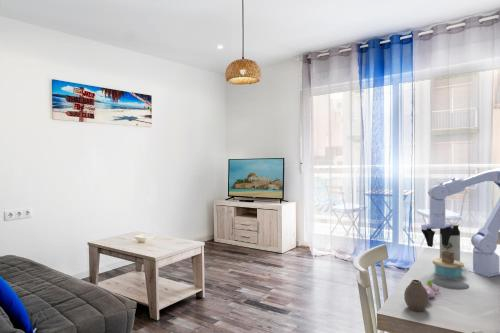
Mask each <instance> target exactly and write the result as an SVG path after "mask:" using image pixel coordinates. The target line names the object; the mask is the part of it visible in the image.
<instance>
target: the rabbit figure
mask: <svg viewBox="0 0 500 333" xmlns="http://www.w3.org/2000/svg"><path fill="white" fill-rule="evenodd" d="M426 284H427V286H424V288H425V289H426V291H427V293H428V296H429V299H431V298H432V299H433V298H435V297H436V296H437V294H441V292H440V289H439V287H436V286H433V283H432V280H431V279H429V280H428V281H427V282H426Z"/></svg>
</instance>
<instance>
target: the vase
mask: <svg viewBox="0 0 500 333" xmlns="http://www.w3.org/2000/svg"><path fill="white" fill-rule="evenodd" d="M424 287H425V286H424V285H423V284H422V282H421V280H420V279H412V280H411V281H410V283H409V284H408V285H407V287H405V290H404V294H403V296H404V298H403V299H404V302H405V305H406V307H408V308H409V309H410V310H411V311H414V312H423V311H424V310H426V309H427V307H428V306H429V302H430V298H429V296H428V293H427V291H426V289H425V288H424Z"/></svg>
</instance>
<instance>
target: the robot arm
mask: <svg viewBox="0 0 500 333" xmlns="http://www.w3.org/2000/svg"><path fill="white" fill-rule="evenodd" d="M484 182H493V183H495V185H497V187H498V188H499V189H500V167H498V168H497V167H496V168H493V169H489V170H485V171H483V172H480V173H477V174H475V175H472V176H469V177H467V178H464V179H460V178H458V177H456V178H455V177H452V178H450V180H449V181H445V182H439V185H438V184H437V185H435V184H434V185H431V186H430V188H429V189H428V192H427V193H428V196H429V223H426V224H421V232H422V234H423V236H424V238H425V241H426V245H427V247H431V248H432V247H433V246H434V236H435V234H436V231H434V230H436V229H438V230H439V232H440V231H441V236H442V245H445V246H447V245H448V242H449V239H450V236H451V235H452V233H453V232H454V229H451V228H453V224H452V223H445V222H446V198H447V197H450V196H452V195H457V194H459V193H462V192H464V191H465V189H466V188H468V187H471V186H474V185H477V184H481V183H484ZM499 232H500V197H499V198H498V199H497V201H496V203H495V205H494V207H493V209H492V210H491V212H490V214H489V215H488V218H487V219H486V222H484V225H483V226H482V227H481V228H480V229H478V230H477V232H476V233H474V234H473V235H472V236H471V237H470V238H471V239H470V242H471V244H472V246H473V248H472V269H469V270H467V272H469V273H474V274H477V275H480V276H484V277H487V278H489V277H490V278H491V277H494V276H499V275H500V257H499V255H498V254H497V253H496V252H495V251H496V250H497V245H498V244H497V243H498V241H499Z"/></svg>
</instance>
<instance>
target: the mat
mask: <svg viewBox="0 0 500 333" xmlns="http://www.w3.org/2000/svg"><path fill="white" fill-rule="evenodd" d="M431 283H432V284H434V285H435V286H438V287H440V288H444V289H449V290H459V291H460V290H461V291H462V290H468V289H469V288H470V285H469V284H467V283H466V282H464V281H461V280H458V279H455V278H454V279H453V278H448V277H446V278H445V277H444V278H443V277H441V278H439V277H438V278H437V277H436V278H433V279H432V280H431Z"/></svg>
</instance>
